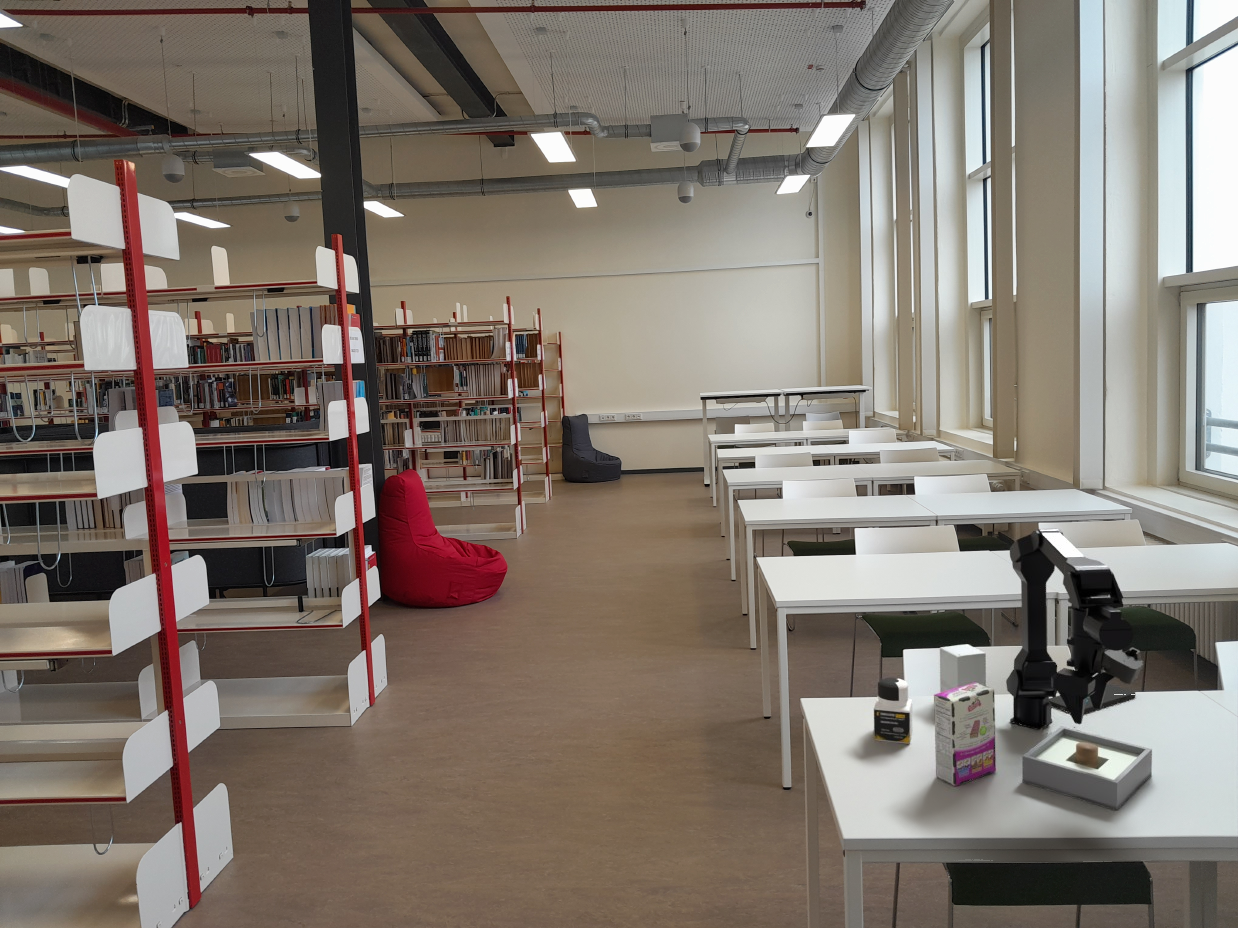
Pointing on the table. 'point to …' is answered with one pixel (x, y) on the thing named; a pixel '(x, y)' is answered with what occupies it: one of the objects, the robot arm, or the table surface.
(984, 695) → the candy bar box
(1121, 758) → the box
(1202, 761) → the table surface
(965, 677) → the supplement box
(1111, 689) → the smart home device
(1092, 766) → the peg
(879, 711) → the medicine bottle
